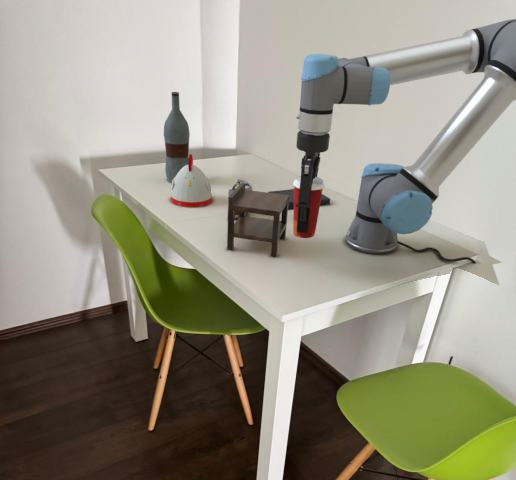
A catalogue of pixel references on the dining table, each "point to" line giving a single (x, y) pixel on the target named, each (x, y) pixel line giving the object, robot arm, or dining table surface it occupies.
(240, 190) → the rack
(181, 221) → the dining table surface
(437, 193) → the robot arm
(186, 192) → the kitchen timer
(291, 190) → the picture frame
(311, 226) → the paper cup
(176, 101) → the bottle
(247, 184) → the food container
